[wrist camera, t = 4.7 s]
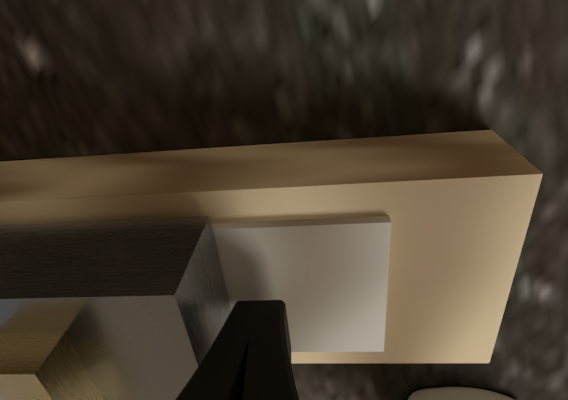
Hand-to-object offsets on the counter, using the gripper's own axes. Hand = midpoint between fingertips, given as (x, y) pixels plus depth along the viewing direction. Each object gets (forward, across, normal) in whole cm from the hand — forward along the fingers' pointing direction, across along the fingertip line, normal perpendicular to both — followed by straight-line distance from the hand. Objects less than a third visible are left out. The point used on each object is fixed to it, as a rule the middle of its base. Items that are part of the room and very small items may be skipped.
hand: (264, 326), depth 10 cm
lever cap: (+1, +5, 0) cm, 5 cm away
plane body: (+4, +3, 0) cm, 5 cm away
